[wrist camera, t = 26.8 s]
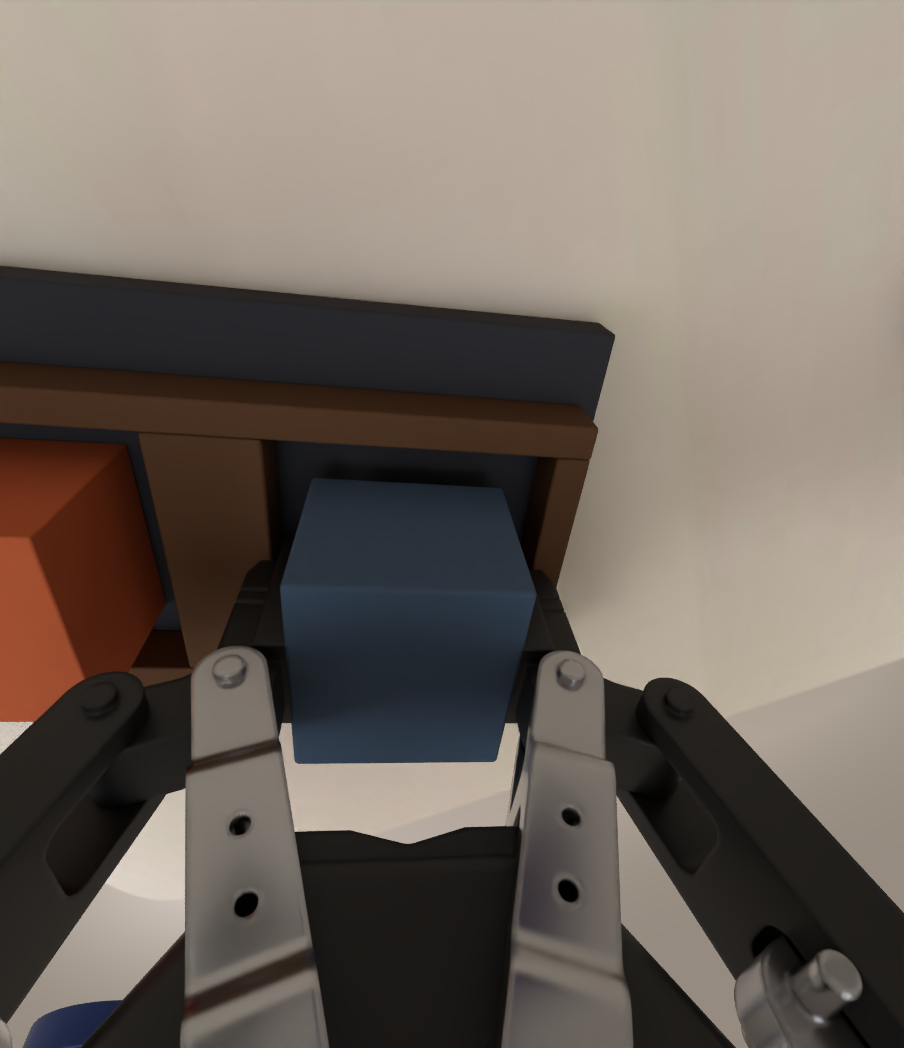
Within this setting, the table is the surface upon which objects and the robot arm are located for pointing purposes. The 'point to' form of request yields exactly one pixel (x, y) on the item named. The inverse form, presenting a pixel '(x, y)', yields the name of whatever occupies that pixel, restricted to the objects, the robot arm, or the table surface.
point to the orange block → (69, 570)
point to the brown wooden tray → (292, 416)
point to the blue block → (403, 622)
